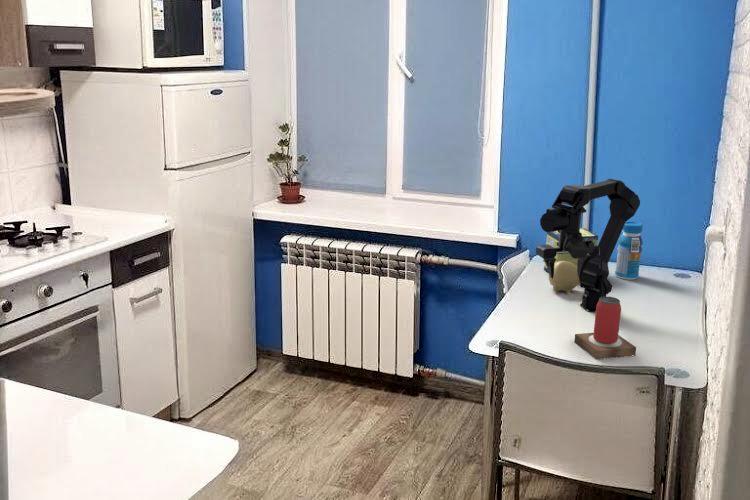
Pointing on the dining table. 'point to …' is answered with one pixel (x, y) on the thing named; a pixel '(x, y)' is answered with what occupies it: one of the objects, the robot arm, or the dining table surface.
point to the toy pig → (564, 276)
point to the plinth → (604, 347)
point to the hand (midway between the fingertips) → (565, 277)
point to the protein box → (552, 241)
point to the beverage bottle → (629, 251)
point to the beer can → (607, 320)
